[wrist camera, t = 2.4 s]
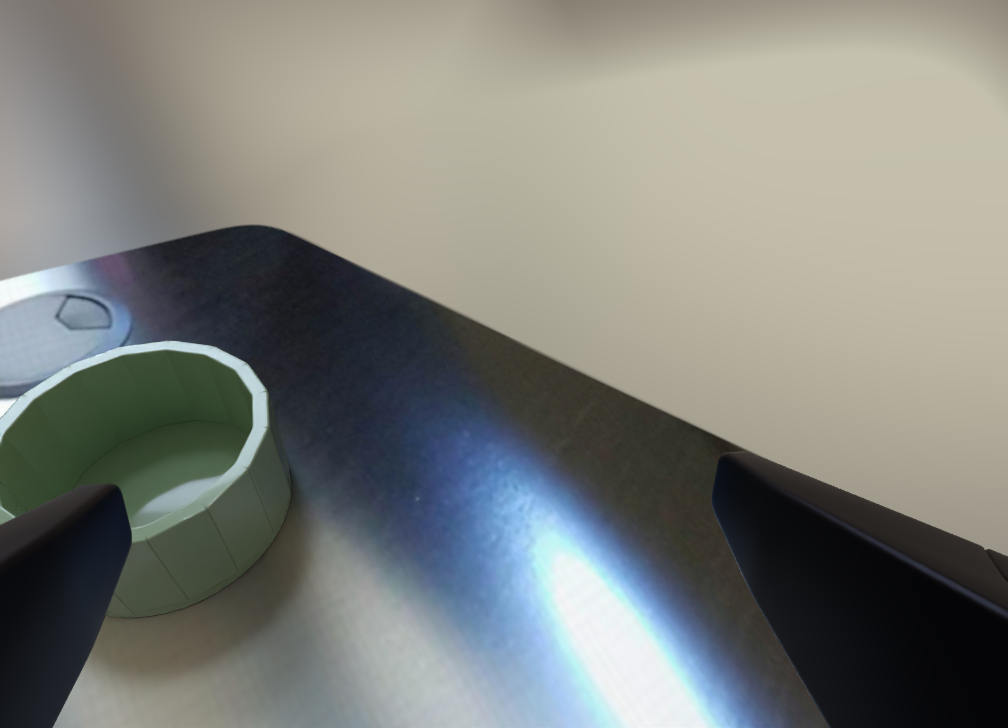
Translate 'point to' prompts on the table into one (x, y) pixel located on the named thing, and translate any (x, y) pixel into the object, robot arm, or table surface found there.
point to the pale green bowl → (157, 463)
